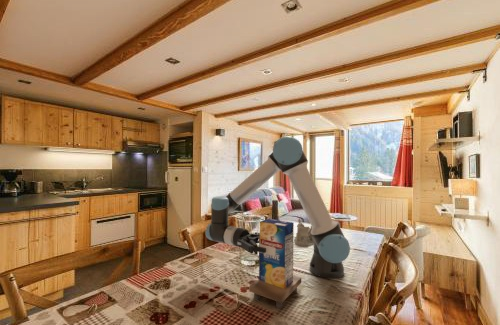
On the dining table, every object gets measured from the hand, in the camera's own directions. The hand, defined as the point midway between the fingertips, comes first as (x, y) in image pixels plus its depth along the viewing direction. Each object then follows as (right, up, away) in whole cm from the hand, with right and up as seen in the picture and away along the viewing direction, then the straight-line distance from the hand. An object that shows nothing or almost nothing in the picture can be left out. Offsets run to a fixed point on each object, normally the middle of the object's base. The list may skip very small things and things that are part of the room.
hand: (283, 246), depth 89 cm
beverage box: (-3, -14, +2) cm, 14 cm away
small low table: (-3, -19, +1) cm, 19 cm away
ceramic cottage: (+24, -20, +65) cm, 72 cm away
